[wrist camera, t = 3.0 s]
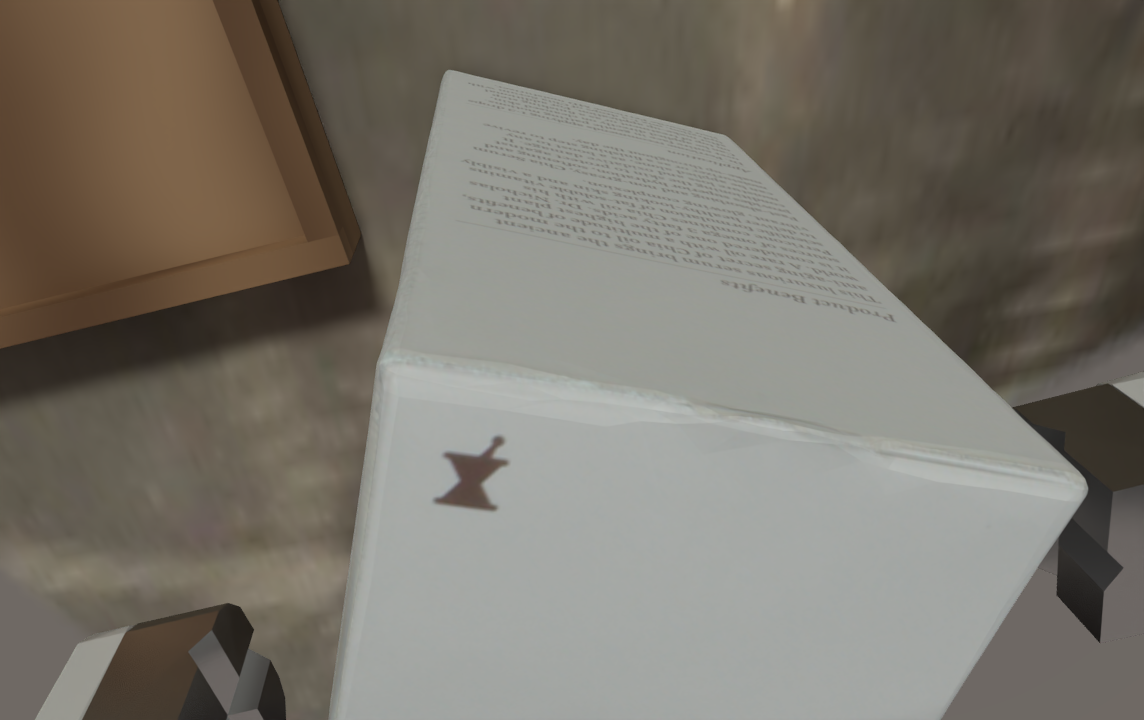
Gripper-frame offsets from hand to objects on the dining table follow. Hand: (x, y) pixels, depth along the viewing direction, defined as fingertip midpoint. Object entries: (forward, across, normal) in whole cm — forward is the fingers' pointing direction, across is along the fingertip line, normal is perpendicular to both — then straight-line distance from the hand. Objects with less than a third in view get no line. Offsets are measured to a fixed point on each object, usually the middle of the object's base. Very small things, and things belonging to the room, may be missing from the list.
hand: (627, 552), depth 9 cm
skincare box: (+10, -1, -1) cm, 11 cm away
